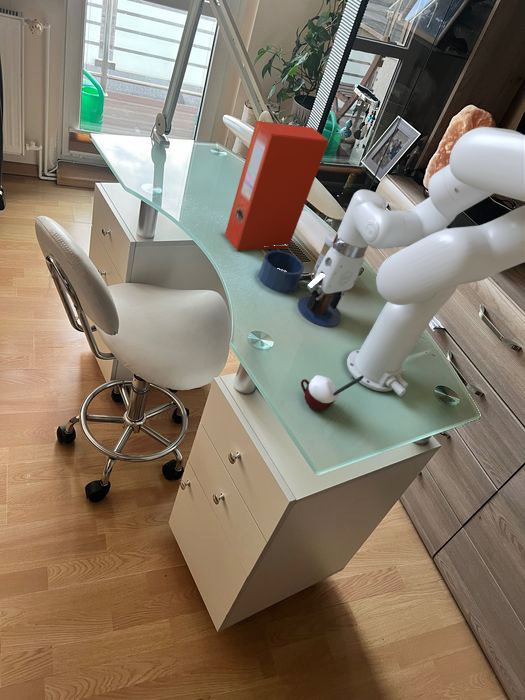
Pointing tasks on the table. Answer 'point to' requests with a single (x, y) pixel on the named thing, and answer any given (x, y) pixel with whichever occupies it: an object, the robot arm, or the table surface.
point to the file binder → (274, 185)
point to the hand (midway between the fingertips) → (321, 307)
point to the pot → (278, 278)
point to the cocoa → (323, 392)
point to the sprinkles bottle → (323, 252)
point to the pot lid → (320, 311)
